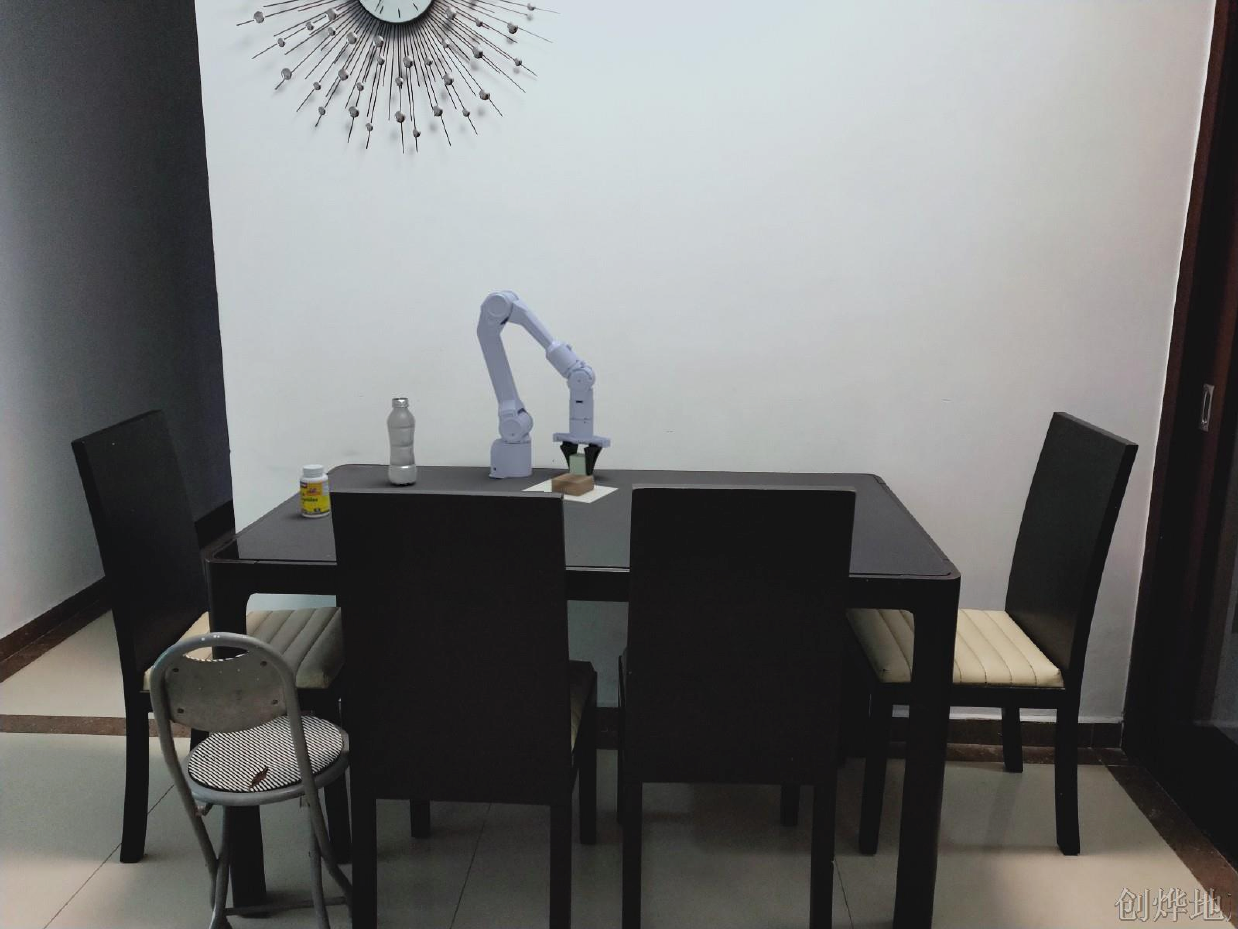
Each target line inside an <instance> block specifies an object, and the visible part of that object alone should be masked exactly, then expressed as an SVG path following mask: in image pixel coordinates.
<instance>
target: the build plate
mask: <svg viewBox="0 0 1238 929" xmlns="http://www.w3.org/2000/svg"><path fill="white" fill-rule="evenodd" d="M551 479H552V478H550V479H548V480H545V481H542V482H540V483H538V484H534V485H533V486H530V487H527V488H525V489H523V490H522V491H544V492H551ZM617 490H619V487H617V488H616V487H609V486H603V485H596V484H594V490H592V491H590V492H587V493H585V494H583V495H581V496H572V495H565V494H564V499H563V500H566V501H567V500H568V501H573V502H580V503H581V502H582V503H587V504H590V503H592V502H595V501H596V500H599V499H601V498H602V497H605V496H607V495H609V494H610V493H613V492H614V491H617Z"/></svg>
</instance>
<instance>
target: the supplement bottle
mask: <svg viewBox="0 0 1238 929" xmlns="http://www.w3.org/2000/svg"><path fill="white" fill-rule="evenodd" d="M329 486H330V485H329V477H328V475H327V474H325V472H324V465H321V464H318V463H317V464H307V465H304V466H302V475H301V476H300V477H299V491H300V492H299V493H300V509H301V515H302V516H303V517H305V518H309V519H312V518H322V517H323V518H324V517H326V516H328V515H329V514H330V511H331V506H330V489H329V488H330V487H329Z"/></svg>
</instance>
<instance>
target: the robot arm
mask: <svg viewBox="0 0 1238 929" xmlns="http://www.w3.org/2000/svg"><path fill="white" fill-rule="evenodd" d="M507 323H512V324H516V325H519V326H521V327H522V328H523V329H524V330H525V331H527V333H528V334H530V336H531V337H532V338H533V339H534V340H535V341H536V342H537V343H538V344H539V345H540V346H541V347H542V348H543V349H544V350H545V359H546V360H547V361H548V363H550V365H552V366H553V368H554V369H555V370H556V371H557V372H558V373H559V374H560V375H561V376H562V378H563V379H566V385H567V387H568V389H569V400H568V401H569V402H568V403H569V404H568V405H569V407H568V410H569V412H568V414H569V415H568V416H569V417H568V418H569V419H568V421H569V422H568V423H569V424H568V428H569V430H568V432H553V434H552V442H553V443H557V442H559V443H562V444H560V445H559V448H560V449H559V450H561V453H562V454H563V456H564V458H565V461H566V465H567V467H568V473H570V456H571V455H573V454H576V453H578V450H579V445H584V446H585V447H583V453H584V454H585V458H586V476H590V475H592V476H593V474H594V470H595V467H596V463H597V461H598V457H599V456H600V454H601V451H602V449H603V448H606V449H607V448H610V447H611V438H608V437H604V436H598V435H594V417H595V416H594V415H595V414H594V413H595V411H594V410H595V409H594V407H595V406H594V405H595V404H594V387H593V386H594V385H595V382H596V374H595V371H594V369H593V368H592V367H591V366H589V365H587V363H586V361H585V360H583V359H582V360H581V359H580V358H579V357H578V355H576V353H575V352H574V351H573V350H572V349H573V346H572V345H571V344H570V343H566V342H565V341H563V340H556V339H555V337H554V336H553V335H552V334H551V333H550V331H549V330H548V329H547V328H546V327H545V326H544V324H543V323H542V322H541V320H540V319H539V318H538V317H537V316H536V315H535V313H534V312H533V311H532V310H531V309H530V307H529V306H528V304H526V303H525V302H524V301H523V300H522V299H520V298H519V297H518V295H517V294H516V293H515V292H513V291H511V290H502V291H499V292H498V291H495V292H492V293H490V294H488V296H486V297H485V299H484V301H483V302H482V303H481V305H480V314H479V319H478V323H477V326H476V335H477V339H478V342H479V346H480V347H481V348H480V349H481V351H482V352H481V353H482V356H483V358H484V362H485V364H486V368H487V371H488V374H489V378H490V381H491V384H492V388H493V391H494V394H495V398H496V401H497V404H498V407H497V416H498V420H499V421H498V422H499V423H498V433H499V435H500V438H496V439H494V441H493V442H492V443H491V447H490V474H489V475H488V476H489V478H496V479H497V478H498V479H506V478H508V477H509V478H511V477H512V478H523V477H524V478H525V477H528V476H530V475H532V471H533V469H532V465H533V464H532V463H533V462H532V437H531V436H530V432H531V431H532V429H533V426H534V419H533V417H532V416H531V414H530V413H529V412H528V411H527V409H526V407H525V403H524V402H523V401H522V400H521V398H520V396H519V392H518V390H517V386H516V382H515V379H514V377H513V373H512V371H511V367H510V363H509V361H508V360H509V359H508V356H507V354H506V350H505V347H504V343H503V340H502V337H501V333H502V331H503V329H504V328H505V326H506V324H507Z"/></svg>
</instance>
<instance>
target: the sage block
mask: <svg viewBox="0 0 1238 929" xmlns="http://www.w3.org/2000/svg"><path fill="white" fill-rule="evenodd" d="M570 473H571V474H578V475H586V458H585V453H584V452H577V453H576V454H573V455H571V456H570ZM590 476H593V474H592V475H590Z"/></svg>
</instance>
